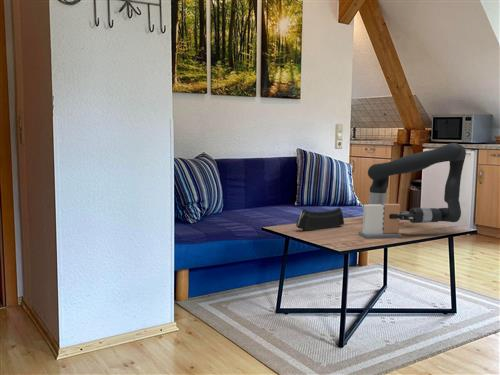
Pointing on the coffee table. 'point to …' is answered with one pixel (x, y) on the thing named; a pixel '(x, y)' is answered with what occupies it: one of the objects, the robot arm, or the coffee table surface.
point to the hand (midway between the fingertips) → (388, 215)
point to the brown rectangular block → (391, 224)
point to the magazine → (320, 219)
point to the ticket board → (375, 223)
